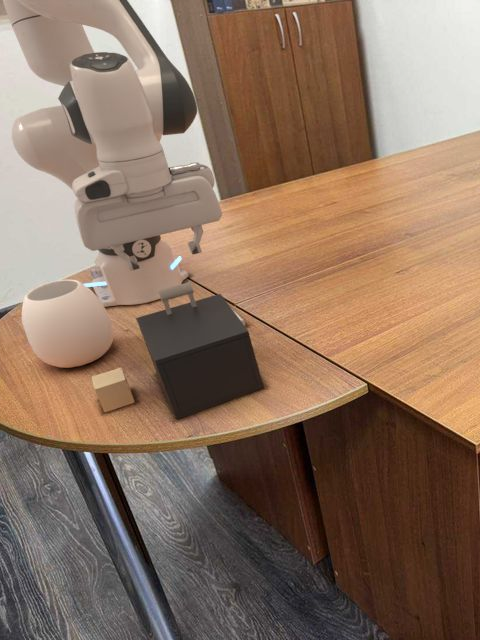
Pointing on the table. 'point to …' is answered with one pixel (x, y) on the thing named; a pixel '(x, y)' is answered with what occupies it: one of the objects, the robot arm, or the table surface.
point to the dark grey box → (209, 376)
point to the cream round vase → (66, 323)
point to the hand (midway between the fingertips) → (166, 260)
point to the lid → (189, 325)
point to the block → (112, 389)
